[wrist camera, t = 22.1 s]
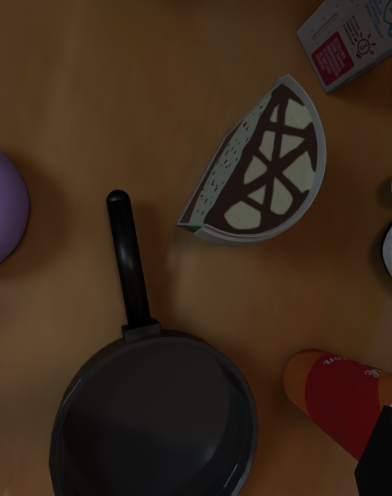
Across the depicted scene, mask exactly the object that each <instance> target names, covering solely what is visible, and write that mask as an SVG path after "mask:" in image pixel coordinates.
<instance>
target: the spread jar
mask: <svg viewBox="0 0 392 496" xmlns="http://www.w3.org/2000/svg"><path fill="white" fill-rule="evenodd" d="M391 193H392V184H391ZM380 253H381V258H382V262H383V264H384V267H385V269H386V271H387V273H388V274H389V276H390V277H391V278H392V222H391V224H390V225H389V226H388V227H387V229H386V230H385V232H384V235H383V237H382V240H381V245H380Z"/></svg>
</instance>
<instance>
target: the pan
mask: <svg viewBox="0 0 392 496" xmlns="http://www.w3.org/2000/svg"><path fill="white" fill-rule="evenodd" d="M161 332H162V337H158V339H157V338H153V339H149V340H145V341H141V342H137V343H133V344H131V345H128V346H126V345H125V342H124V339H123V337H122V338H120V339H118V340H116V341H114V342H112V343H111V344H109V345H107V346H106V347H104V348H102V349H101V350H100V351H99V352H97V353H96V354H95V355H94V356H92V357H91V358H90V359H89V360H88V361H87V362H86V363H85V364H84V365H83V366H82V367H81V369H80V370H79V371H78V373H77V374H76V375H75V376H74V378H73V379H72V381H71V383H70V384H69V386H68V387H67V389H66V391H65V393H64V395H63V398H62V400H61V403H60V406H59V409H58V411H57V414H56V417H55V421H54V426H53V430H52V434H51V444H50V454H49V469H50V475H51V480H52V486H53V491H54V494H55V496H237V495H238V494H239V492H240V490H241V488H242V486H243V485H244V483H245V481H246V479H247V478H248V475H249V473H250V470H251V466H252V463H253V460H254V457H255V453H256V449H257V438H258V417H257V411H256V405H255V399H254V397H253V395H252V392H251V390H250V388H249V386H248V383H247V381H246V379H245V377H244V375H243V374H242V373H241V372H240V371H239V369H238V368H237V367H236V366H235V365H234V364H233V362H232V361H231V360H230V359H229V358H228V357H227V356H226V355H224V354H223V353H222V352H220V351H219V350H218V349H216V348H215V347H213V346H212V345H210V344H209V343H207V342H206V341H204V340H203V339H201V338H199V337H197V336H194V335H191V334H189V333H185V332H181V331H178V330H168V329H161Z"/></svg>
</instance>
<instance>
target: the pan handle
mask: <svg viewBox="0 0 392 496" xmlns="http://www.w3.org/2000/svg"><path fill="white" fill-rule="evenodd" d="M106 201H107V208H108V214H109V219H110V225H111V230H112V236H113V242H114V247H115V253H116V259H117V264H118V270H119V275H120V281H121V287H122V292H123V298H124V303H125V309H126V315H127V320H128V325H124V326H122V333H123V339H124V342H125V345H126V346H128V345H131V344H133V343H137V342H141V341H145V340H149V339H153V338H157V339H158V337H162V332H161V326H160V323H159V322H158V321H157V320H156V319H151V316H150V310H149V304H148V299H147V293H146V287H145V281H144V276H143V270H142V264H141V259H140V253H139V247H138V242H137V236H136V230H135V225H134V219H133V213H132V208H131V202H130V198H129V196H128V194H127V193H126V192H124V191H122V190H114V191H112V192H110V193H109V195H108V196H107V200H106Z"/></svg>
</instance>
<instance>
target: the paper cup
mask: <svg viewBox="0 0 392 496" xmlns="http://www.w3.org/2000/svg"><path fill="white" fill-rule="evenodd" d="M283 384H284V389H285V392H286V394H287V396H288V397H289V399H290V400H291V401H292V402H293V403H294V404H295V405H296V406H297V407H298V408H299V409H300V410H301V411H302V412H303V413H304V414H306V415H307V416H308V417H309V418H310V419H311V420H312V421H313V422H314V423H316V424H317V425H318V426H319V427H320V428H321V429H322V430H323V431H325V432H326V433H327V434H328V435H329V436H330V437H331V438H332V439H334V440H335V441H336V442H337V443H338V444H339V445H340V446H342V447H343V448H344V449H345V450H346V451H347V452H348V453H350V454H351V455H352V456H353V457H354V458H355V459H356V460H357V461H359V460H360V458H361V456H362V454H363V451H364V449H365V447H366V445H367V442H368V440H369V438H370V435H371V433H372V431H373V429H374V426H375V424H376V422H377V420H378V417H379V415H380V413H381V410H382V408H383V406H384V405H387V406H391V407H392V373H390V372H387V371H384V370H381V369H378V368H375V367H372V366H368V365H365V364H362V363H359V362H356V361H353V360H350V359H347V358H343V357H340V356H337V355H334V354H331V353H327V352H324V351H320V350H316V349H306V350H302V351H300V352H298V353H297V354H295V355H294V356H293V357H292V358H291V359H290V361H289V362H288V364H287V366H286V368H285V371H284V376H283Z"/></svg>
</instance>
